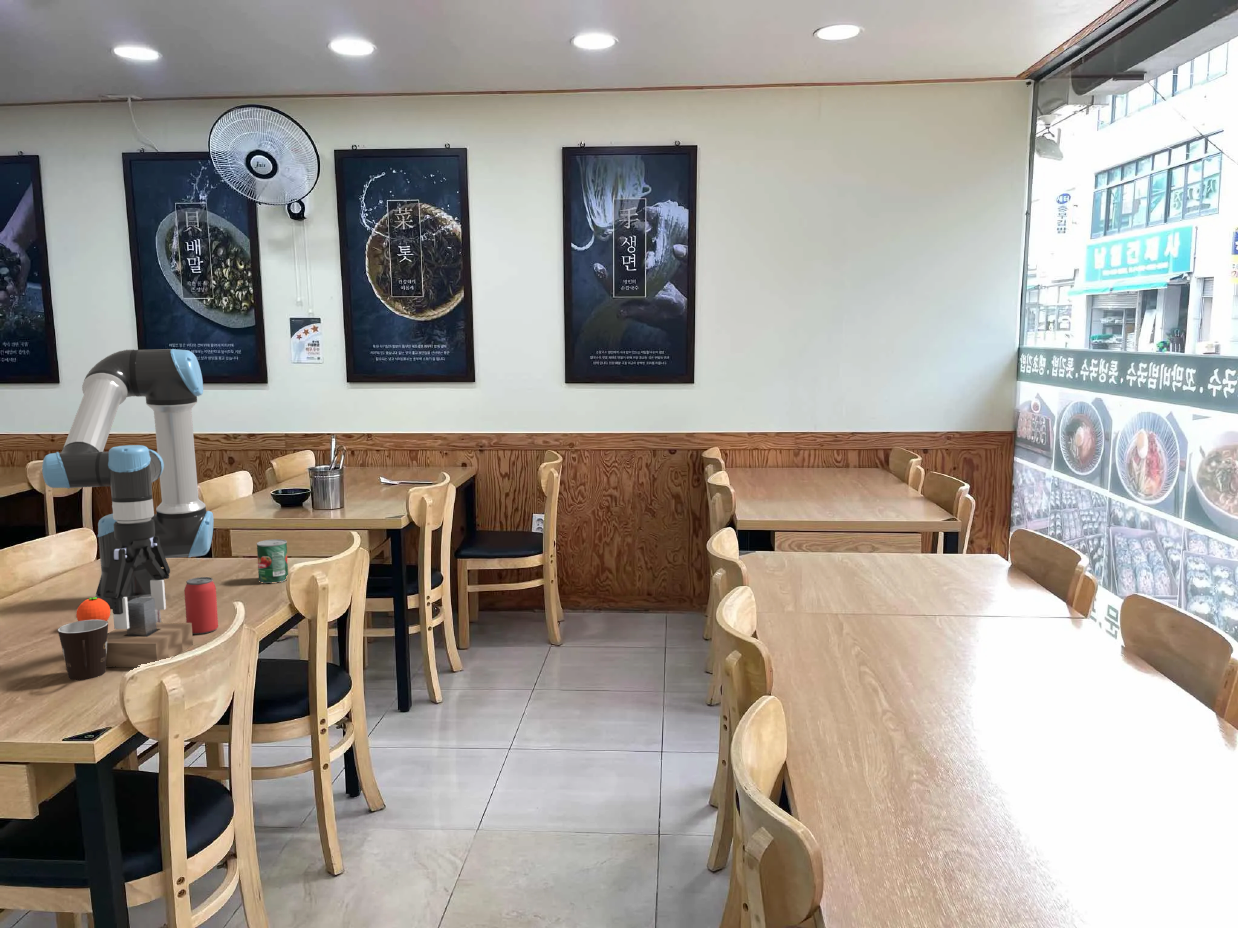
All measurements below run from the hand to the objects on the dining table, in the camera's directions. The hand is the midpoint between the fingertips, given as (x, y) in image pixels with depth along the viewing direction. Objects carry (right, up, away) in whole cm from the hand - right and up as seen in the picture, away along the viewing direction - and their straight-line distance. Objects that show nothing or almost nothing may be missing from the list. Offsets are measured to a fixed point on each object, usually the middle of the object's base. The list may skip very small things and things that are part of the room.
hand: (141, 618), depth 189 cm
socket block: (0, -8, +1) cm, 8 cm away
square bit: (0, -8, +1) cm, 8 cm away
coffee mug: (-5, -10, -12) cm, 16 cm away
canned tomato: (+4, 0, +62) cm, 63 cm away
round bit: (-4, -7, +11) cm, 13 cm away
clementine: (-22, -6, +21) cm, 31 cm away
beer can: (+5, -6, +18) cm, 19 cm away
